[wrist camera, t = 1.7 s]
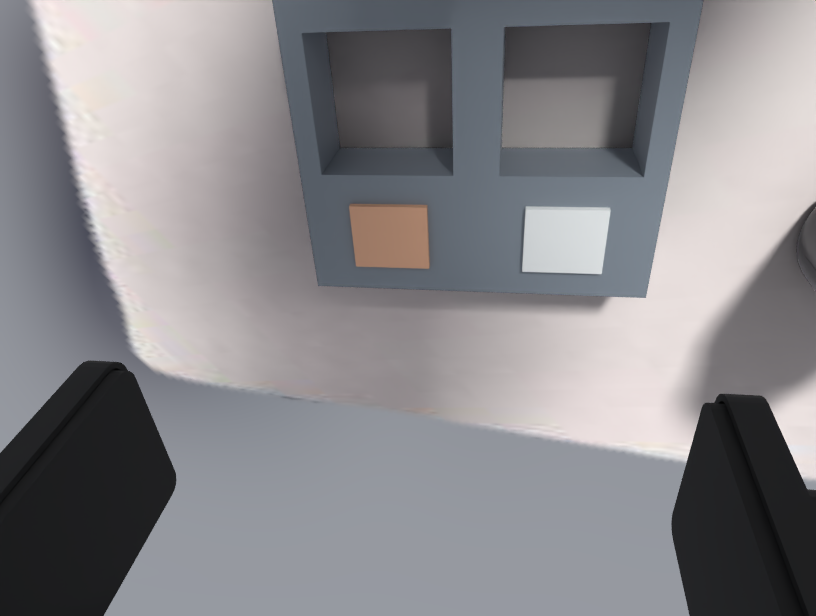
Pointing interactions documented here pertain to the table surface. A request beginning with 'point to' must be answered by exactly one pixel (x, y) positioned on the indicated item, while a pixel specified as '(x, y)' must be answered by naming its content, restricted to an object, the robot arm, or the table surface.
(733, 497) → the robot arm
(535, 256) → the socket block
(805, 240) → the supplement bottle
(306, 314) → the table surface
